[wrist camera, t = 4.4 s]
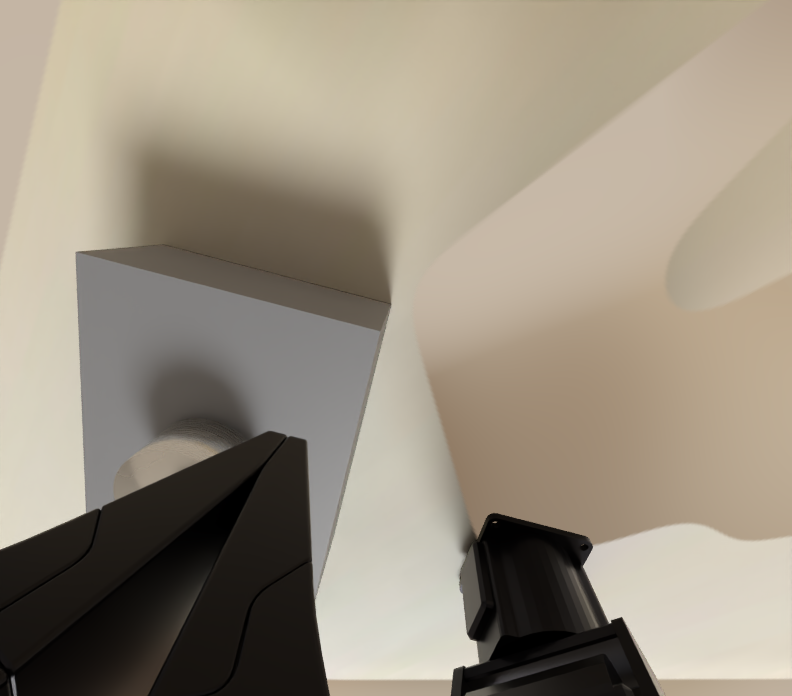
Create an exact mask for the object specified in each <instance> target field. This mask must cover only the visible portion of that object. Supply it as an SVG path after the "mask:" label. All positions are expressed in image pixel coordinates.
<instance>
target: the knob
mask: <svg viewBox="0 0 792 696" xmlns="http://www.w3.org/2000/svg"><path fill="white" fill-rule="evenodd" d="M245 441H247V440H246V439H245V438H244V437H243V436H242V435H241V434H239V433H238V432H237V431H235V430H234V429H232V428H231V427H229V426H227V425H225V424H223V423H220V422H217V421H214V420H210V419H204V418H190V419H185V420H181V421H178V422H176V423H174V424H172V425H171V426H170V427H168V428H167V429H166V430H164V431H163V432H162V433H161V434H159V435H158V436H157V437H156V438H154V439H153V440H152V441H151V442H149V443H148V444H147V445H146V446H144V447H143V448H142V449H141V450H139V451H138V452H137V453H136V454H134V455H133V456H132V457H131V458H129V459H128V460H127V461H126V462H125V463H124V464H123V465H122V466H121V467H120V468H119V470H118V471H117V474H116V476H115V479H114V485H113V492H114V498H115V500H117V499H119V498H121V497H123V496H125V495H128V494H130V493H132V492H134V491H136V490H139V489H141V488H143V487H145V486H147V485H150V484H152V483H154V482H156V481H158V480H161V479H163V478H165V477H167V476H170V475H172V474H174V473H176V472H178V471H181V470H183V469H185V468H187V467H189V466H192V465H194V464H196V463H198V462H200V461H203V460H205V459H207V458H209V457H211V456H214V455H216V454H218V453H220V452H222V451H225V450H227V449H229V448H231V447H234V446H236V445H238V444H240V443H242V442H245Z"/></svg>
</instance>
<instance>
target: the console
mask: <svg viewBox="0 0 792 696" xmlns="http://www.w3.org/2000/svg"><path fill="white" fill-rule="evenodd" d="M76 275H77V300H78V324H79V349H80V374H81V398H82V423H83V448H84V472H85V497H86V513H88V512H90V511H92V510H94V509H97V508H98V509H100V510H101V508H102V506H103V505H106V504H108V503H110V502H112V501H114V500H115V498H114V492H113V485H114V479H115V476H116V474H117V471H118V470H119V468H120V467H121V466H122V465H123V464H124V463H125V462H126V461H127V460H128V459H129V458H131V457H132V456H133V455H134V454H136V453H137V452H138V451H139V450H141V449H142V448H143V447H144V446H146V445H147V444H148V443H149V442H151V441H152V440H153V439H154V438H156V437H157V436H158V435H159V434H161V433H162V432H163V431H164V430H166V429H167V428H168V427H170V426H171V425H172V424H174V423H176V422H178V421H181V420H185V419H190V418H204V419H210V420H214V421H217V422H220V423H223V424H225V425H227V426H229V427H231V428H232V429H234V430H235V431H237V432H238V433H239V434H241V435H242V436H243V437H244V438H245V439H246V440H249V439H251V438H253V437H256V436H258V435H260V434H262V433H264V432H267V431H274V432H278V433H282V434H286V435H287V437H289V436H294V437H298V438H302V439H305V440H307V443H308V467H309V491H310V516H311V540H312V564H313V583H314V596H315V599H316V595H317V592H318V588H319V585H320V582H321V578H322V575H323V571H324V568H325V564H326V561H327V557H328V554H329V551H330V547H331V544H332V540H333V537H334V533H335V529H336V525H337V521H338V517H339V513H340V509H341V505H342V501H343V497H344V493H345V489H346V484H347V480H348V476H349V472H350V468H351V464H352V460H353V456H354V452H355V448H356V444H357V440H358V436H359V432H360V428H361V424H362V420H363V416H364V412H365V408H366V404H367V400H368V396H369V392H370V388H371V384H372V380H373V376H374V372H375V368H376V364H377V360H378V356H379V352H380V348H381V344H382V340H383V336H384V332H385V328H386V324H387V320H388V316H389V312H390V308H391V304H388V303H384V302H380V301H376V300H373V299H369V298H365V297H361V296H357V295H353V294H350V293H346V292H342V291H338V290H334V289H330V288H327V287H323V286H319V285H315V284H311V283H308V282H304V281H300V280H296V279H292V278H288V277H285V276H281V275H277V274H273V273H269V272H265V271H262V270H258V269H254V268H250V267H246V266H243V265H239V264H235V263H231V262H227V261H223V260H220V259H216V258H212V257H208V256H204V255H201V254H197V253H193V252H189V251H185V250H181V249H178V248H174V247H170V246H166V245H153V246H141V247H129V248H117V249H105V250H93V251H81V252H76Z"/></svg>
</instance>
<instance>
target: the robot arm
mask: <svg viewBox="0 0 792 696" xmlns="http://www.w3.org/2000/svg"><path fill="white" fill-rule="evenodd" d="M494 521H496V522H497V523H492V522H494ZM583 544H584V545H583ZM592 548H593V546H592V543H591V542H590V539H589V538H588V537H586V536H582V535H579V534H575V533H571V532H567V531H563V530H560V529H556V528H552V527H548V526H544V525H540V524H536V523H532V522H528V521H525V520H521V519H516V518H513V517H509V516H505V515H501V514H497V513H493V514H490V515H488V516H487V518H486V520H485V522H484V525H483V527H482V530H481V532H480V534H479V537H478V539H477V541H475V542H473V543H472V545H471V547H470V550H469V552H468V554H467V557H466V559H465V562H464V564H463V566H462V569H461V580H460V582H459V586H460V591H461V593H462V594H463V600H464V610H465V620H466V630H467V635H468V636H469V638H470V639H471V640H474V641H477V649H478V657H479V664H476V665H473V666H470V667H467V668H466V667H465V666H462V667H459V668H456V669H454V672H453V681H452V690H451V696H666V695H665V693H664V691H663V689H662V687H661V685H660V684H659V682H658V680H657V678H656V676H655V674H654V672H653V671H652V669H651V667H650V665H649V664H648V662H647V660H646V658H645V657H644V655H643V653H642V651H641V650H640V648H639V646H638V644H637V643H636V641H635V639H634V637H633V635H632V634H631V632H630V630H629V628H628V627H627V625H626V623H625V621H624V620H623V618H622V617H621V618H617V619H614V620H611V622H612V623H610V624H609V622H608V620H607V618H606V616H605V614H604V611H603V609H602V607H601V605H600V603H599V601H598V598H597V596H596V594H595V592H594V590H593V588H592V585H591V583H590V581H589V579H588V577H587V575H586V572H585V570H584V568H583V565H584V563H585V561H586V560H587V558H588V556H589V554H590V553H591V551H592ZM0 696H330V694H329V690H328V684H327V678H326V673H325V668H324V662H323V657H322V651H321V645H320V638H319V631H318V625H317V618H316V608H315V596H314V583H313V564H312V540H311V516H310V491H309V467H308V443H307V440H305V439H302V438H298V437H294V436H289V437H287V435H286V434H282V433H278V432H274V431H267V432H264V433H262V434H260V435H258V436H256V437H253V438H251V439H249V440H247V441H245V442H242V443H240V444H238V445H236V446H234V447H231V448H229V449H227V450H225V451H222V452H220V453H218V454H216V455H214V456H211V457H209V458H207V459H205V460H203V461H200V462H198V463H196V464H194V465H192V466H189V467H187V468H185V469H183V470H181V471H178V472H176V473H174V474H172V475H170V476H167V477H165V478H163V479H161V480H158V481H156V482H154V483H152V484H150V485H147V486H145V487H143V488H141V489H139V490H136V491H134V492H132V493H130V494H128V495H125V496H123V497H121V498H119V499H117V500H114V501H112V502H110V503H108V504H106V505H103V506H102V508H101V510H100V509H98V508H97V509H94V510H92V511H90V512H88V513H85V514H83V515H81V516H79V517H76V518H74V519H72V520H70V521H68V522H65V523H63V524H61V525H58V526H56V527H54V528H51V529H49V530H47V531H44V532H42V533H40V534H37V535H35V536H33V537H31V538H28V539H26V540H23V541H21V542H18V543H16V544H13V545H11V546H8V547H6V548H3V549H1V550H0Z"/></svg>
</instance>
